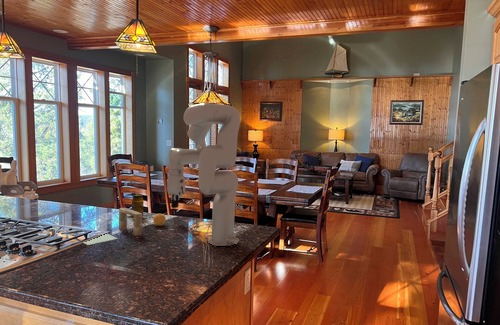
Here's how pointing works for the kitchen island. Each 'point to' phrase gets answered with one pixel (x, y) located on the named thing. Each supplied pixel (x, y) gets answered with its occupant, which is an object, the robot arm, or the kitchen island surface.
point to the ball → (159, 219)
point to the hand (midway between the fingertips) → (174, 207)
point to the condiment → (137, 205)
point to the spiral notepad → (100, 239)
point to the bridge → (137, 220)
